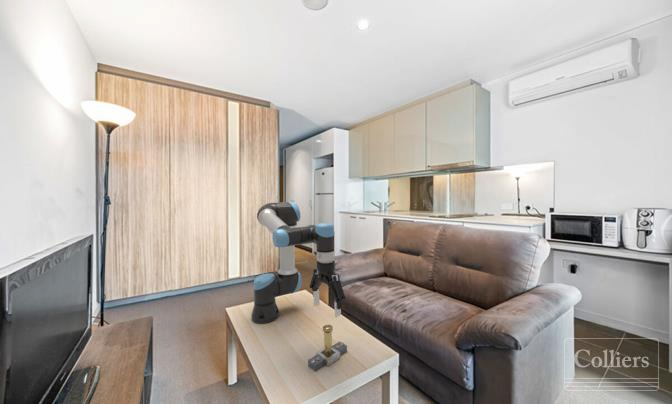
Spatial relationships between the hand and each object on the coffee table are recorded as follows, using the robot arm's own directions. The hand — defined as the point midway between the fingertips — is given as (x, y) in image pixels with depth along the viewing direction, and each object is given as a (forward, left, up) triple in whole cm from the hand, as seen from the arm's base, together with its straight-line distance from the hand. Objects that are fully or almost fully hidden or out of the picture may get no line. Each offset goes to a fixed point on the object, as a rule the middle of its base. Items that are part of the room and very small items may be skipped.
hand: (326, 310), depth 107 cm
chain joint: (0, 0, -21) cm, 21 cm away
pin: (0, 0, -21) cm, 21 cm away
